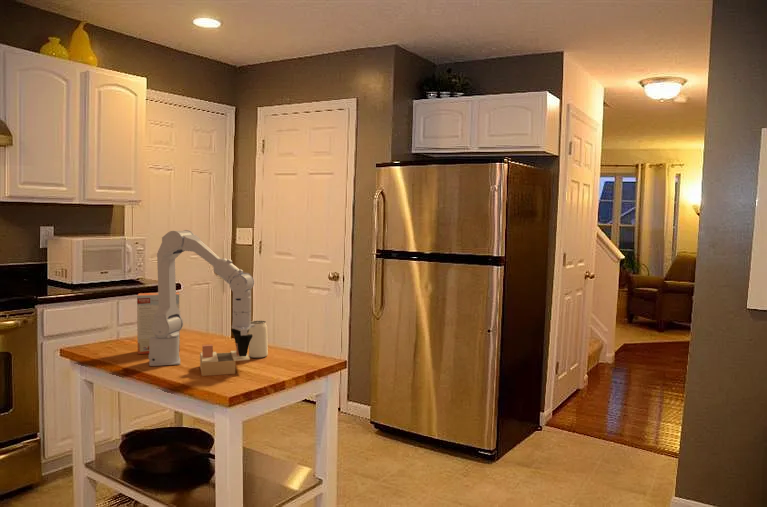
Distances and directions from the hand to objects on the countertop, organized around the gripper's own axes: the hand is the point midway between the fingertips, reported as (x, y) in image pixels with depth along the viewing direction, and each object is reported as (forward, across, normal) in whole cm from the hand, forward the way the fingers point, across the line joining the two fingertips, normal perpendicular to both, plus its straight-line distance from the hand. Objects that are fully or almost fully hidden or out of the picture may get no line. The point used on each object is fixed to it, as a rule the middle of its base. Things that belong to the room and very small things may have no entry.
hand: (241, 353), depth 195 cm
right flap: (+1, 0, 0) cm, 1 cm away
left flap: (+1, 0, +10) cm, 10 cm away
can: (+5, +15, -7) cm, 17 cm away
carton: (+5, 0, +8) cm, 9 cm away
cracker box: (+5, +30, +26) cm, 40 cm away
